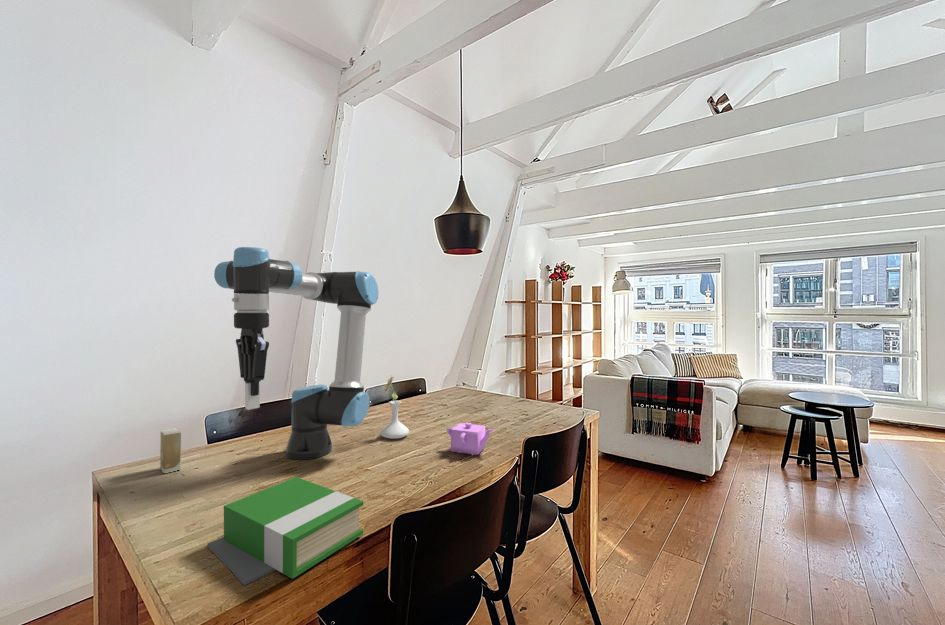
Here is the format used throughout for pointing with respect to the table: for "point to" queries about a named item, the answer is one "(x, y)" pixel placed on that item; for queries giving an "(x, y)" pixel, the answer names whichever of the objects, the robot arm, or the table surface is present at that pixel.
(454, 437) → the teapot
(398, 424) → the flower in vase
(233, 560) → the felt mat
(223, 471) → the table surface
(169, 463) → the skincare box
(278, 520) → the hardback book
